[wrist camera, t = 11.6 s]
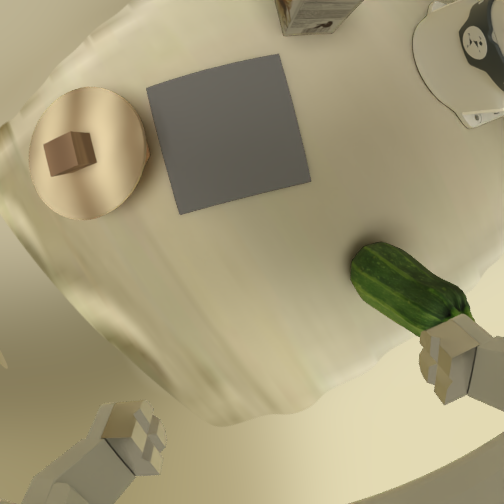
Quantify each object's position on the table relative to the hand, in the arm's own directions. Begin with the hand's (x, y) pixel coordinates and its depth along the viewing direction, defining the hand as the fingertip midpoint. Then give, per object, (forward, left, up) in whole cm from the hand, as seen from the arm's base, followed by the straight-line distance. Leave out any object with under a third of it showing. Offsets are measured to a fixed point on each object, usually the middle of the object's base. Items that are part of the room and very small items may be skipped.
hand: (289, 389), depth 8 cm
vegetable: (-13, +10, -29) cm, 34 cm away
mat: (0, -9, -29) cm, 30 cm away
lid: (+14, -11, -23) cm, 29 cm away
